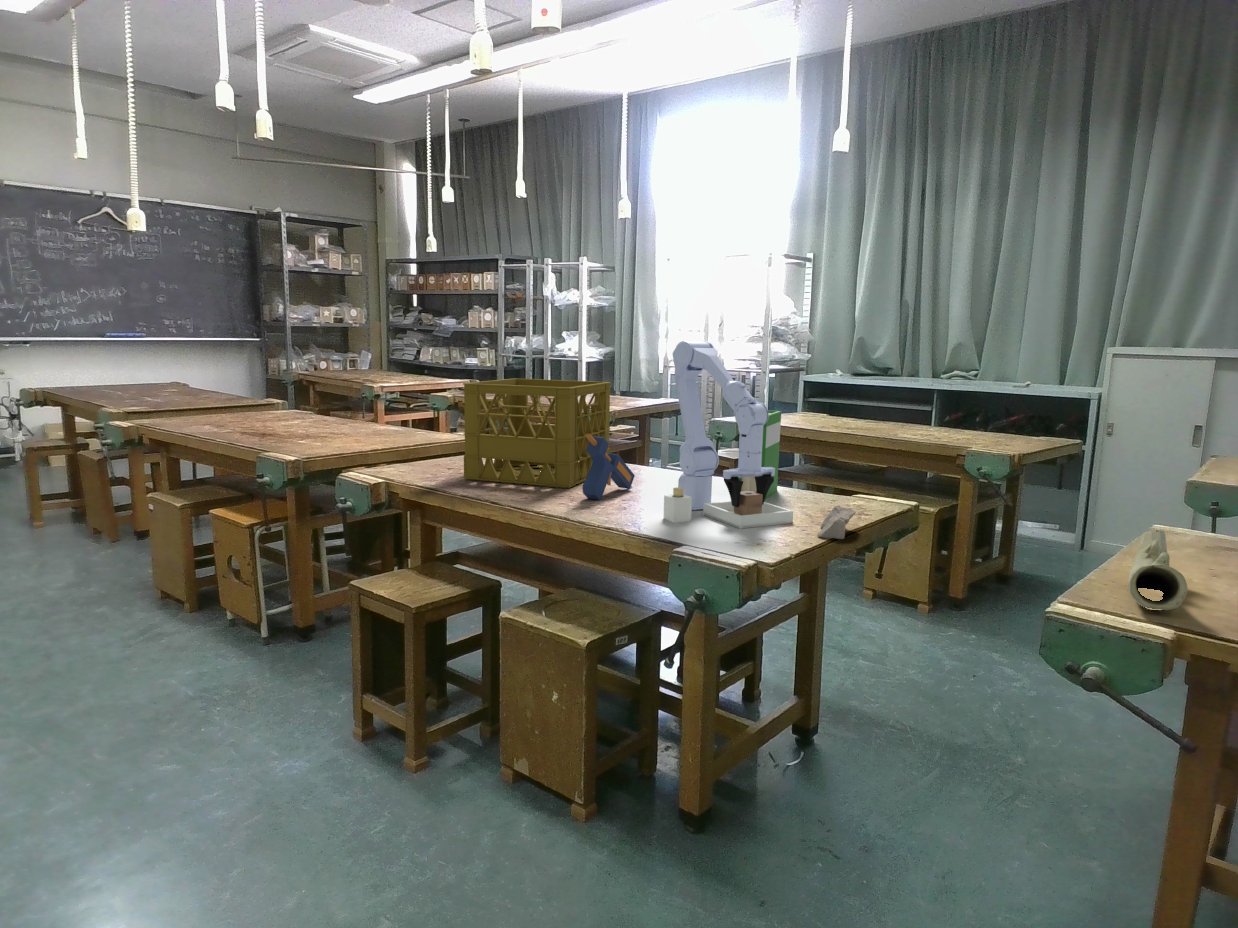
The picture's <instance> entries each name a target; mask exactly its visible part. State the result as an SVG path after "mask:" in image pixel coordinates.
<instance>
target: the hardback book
mask: <svg viewBox="0 0 1238 928" xmlns="http://www.w3.org/2000/svg"><path fill="white" fill-rule="evenodd" d="M768 413H769V418H768V421H767V422H766V424H765V425H763V441H762V461H761V467H772V468H775V476H771V477H774V482H773V483H772V485H771V486H770V488H769V490H768V492H767V495H766V498H765V500H766V499H768V498H769V497H772V495H773V494H775V493H776V492H778V480H779V463H780V461H779V460H780V441H781V427H782V426H781V423H782V410H768ZM745 475H749V474H745ZM738 479H739V480H740V481H743V485H742V488H741V492H742V491H753V492H756V482H755V477H741V478H738Z"/></svg>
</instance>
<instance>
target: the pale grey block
mask: <svg viewBox="0 0 1238 928" xmlns="http://www.w3.org/2000/svg"><path fill="white" fill-rule="evenodd" d="M672 490H673V491H672V492H673V493H672V494H664V497H663V520H667V521H668V522H671V523H673V524H674V523H684V522H692V510H691V508H692V497H689V496H686V495H683V488H678V486H677V487H673V488H672Z"/></svg>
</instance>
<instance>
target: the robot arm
mask: <svg viewBox="0 0 1238 928" xmlns="http://www.w3.org/2000/svg"><path fill="white" fill-rule="evenodd" d="M718 356H719V355H718V350H717V349H716V348H715V346H714V345H713V343H711V342H709V341H686V340H683V341H680V342H678V343H677V344H676V347H675V348H674V350H673V351H672V359H673V364H674V380H675V381H674V382H675V385H676V386H675V387H676V391H677V392H676V393H677V398H678V403H679V411H680V415H681V421H682V427H683V432H684V437H685V441H684V442H683V443H682V444H681V445H680V447H679V459H678V460H679V463H678V464H679V467H680V470H681V471H682V472H683V473H681V475H680V476H679V478H678V482H677V485H678V486H677V487H678V488H683V495H686V496H689V497H692V508H691V511H699V510H703V507H704V503H712V487H713V486H712V484H713V475H714V474H715V471H716V469H717V468H718V466H719V463H720V457H719V454H718V452H717V450H716V448H715V444H714V442H713V441H712V440H710V438H708V437H707V435H706V429H705V425H704V419H703V413H702V406H701V401H700V396H699V390H698V383H697V379H698V376H699V375H701V373H703V371H704V370H705V371H706V372H707V373H708V374H709V375H710V376H711V377H712V379H714V381H715V382H716V383H717V385H718V386H720V387H721V389H722V391H721V392H722V393H721V396H722V398H724V400H725V402H727V404H728V406H729V407H730V408H731V409H732V410H733V412H734V413H735V415H734V419H735V422H736V424H737V427H738V428H737V429H738V430H737V431H738V433H739V439H738V440H739V443H738V461H737V463H738V464H737V467H736V468H730V469H724V470H722V472H723V473H722V478H723V482H724V484H725V486H726V488H727V490H728V491H727V492H728V493H729V497H730V501H731V503H732V506H734V507H739V504H740V493H741V488H742V485H743V481H740V480H739V479H738V478H741V477H755V482H756V493H760V494H763V498H762V505H763V504H764V502H766V499H767V498H766V495H767V492H768V490H769V488H770V486H771V485H772V483H773V482H774V477H771V476H775V468H772V467H761V461H762V441H763V425H765V424H766V422H767V421H768V418H769V413H768V407H767V406H766V404H765V403H763V402H759V401H757V400H756V398H755V397H753V396H752V395H751V393H750V392H749V390H747V388H746V384H745V383H744V382H741V381H739V380H734V379H733V377H732V376H731V374H730V373H729V372H728V370H727V368H726V367H725V366H724V364H723V363H722V361H721V359H720V358H719V357H718ZM745 474H749V475H745ZM765 498H766V499H765Z"/></svg>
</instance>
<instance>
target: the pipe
mask: <svg viewBox="0 0 1238 928" xmlns="http://www.w3.org/2000/svg"><path fill="white" fill-rule="evenodd" d="M1167 546H1168V545H1167V540H1166V532H1165V531H1164V530H1160V529H1156V530H1155V531H1151V532H1148V533H1146V534H1143V535H1141V537H1140V538H1139V542H1138V546H1137V550H1136V553H1135V556H1134V559H1133V562H1132V566H1131V569H1130V572H1129V576H1128V581H1127V586H1128V591H1129V594H1130V596H1131V597H1132V599H1133V600H1134V601H1135V602H1136V603H1137V604H1138V605H1139V606H1140V605H1141V607H1142V606H1143V607H1142V608H1144V607H1147V608H1152V609H1162V610H1166V611H1170V610H1174V609H1177V608H1180V606H1181V604H1182V603H1183V602H1184V601H1185V599H1186V597H1187V594H1188V584H1187V580H1186V578H1185V577H1184V575H1183V573H1181V572H1180V571H1179V570H1177V569H1175V568H1174V567H1172V566H1170V554H1169V553H1168V547H1167ZM1138 588H1147V589H1154V590H1160V591H1162V592H1163V593H1164V594H1163V596H1162V597H1163V599H1162V600H1160V601H1152V600H1150V599H1147V598H1145V597H1144V596H1142V595H1141V594H1140V592H1139V591H1138Z"/></svg>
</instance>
